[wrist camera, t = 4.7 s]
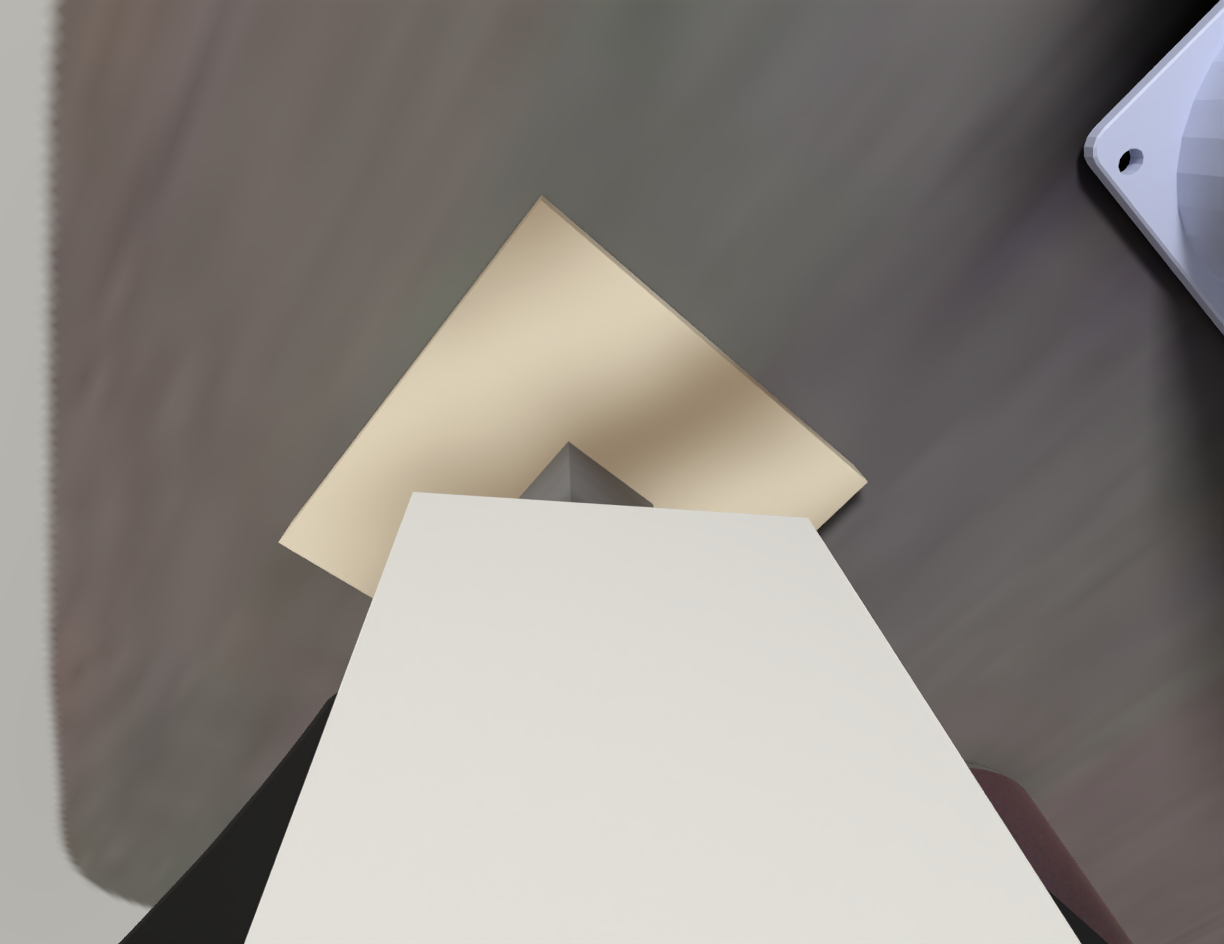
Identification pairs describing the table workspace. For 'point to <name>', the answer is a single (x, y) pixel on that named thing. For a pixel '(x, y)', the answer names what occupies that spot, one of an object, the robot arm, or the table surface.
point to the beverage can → (1047, 853)
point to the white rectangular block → (635, 750)
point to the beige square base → (567, 411)
